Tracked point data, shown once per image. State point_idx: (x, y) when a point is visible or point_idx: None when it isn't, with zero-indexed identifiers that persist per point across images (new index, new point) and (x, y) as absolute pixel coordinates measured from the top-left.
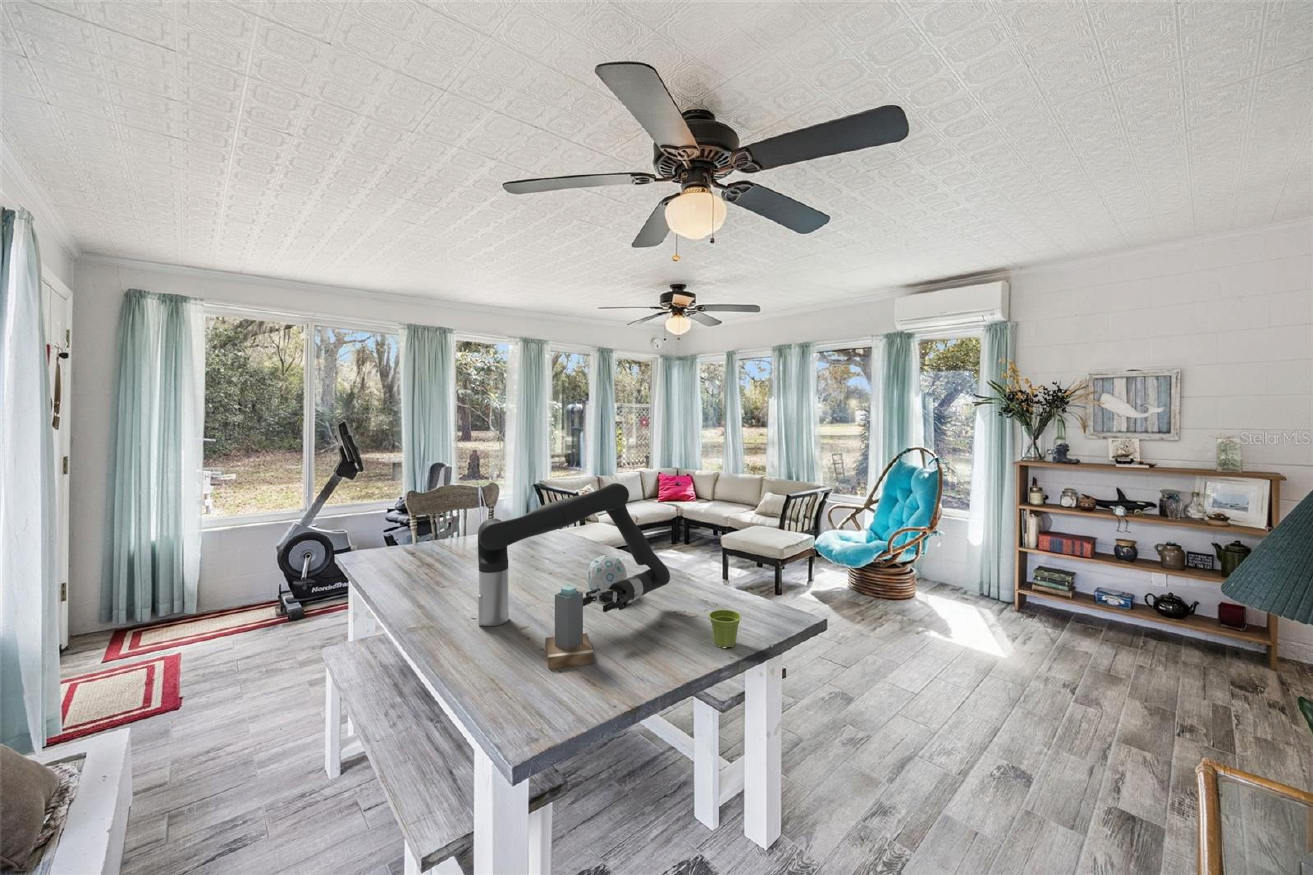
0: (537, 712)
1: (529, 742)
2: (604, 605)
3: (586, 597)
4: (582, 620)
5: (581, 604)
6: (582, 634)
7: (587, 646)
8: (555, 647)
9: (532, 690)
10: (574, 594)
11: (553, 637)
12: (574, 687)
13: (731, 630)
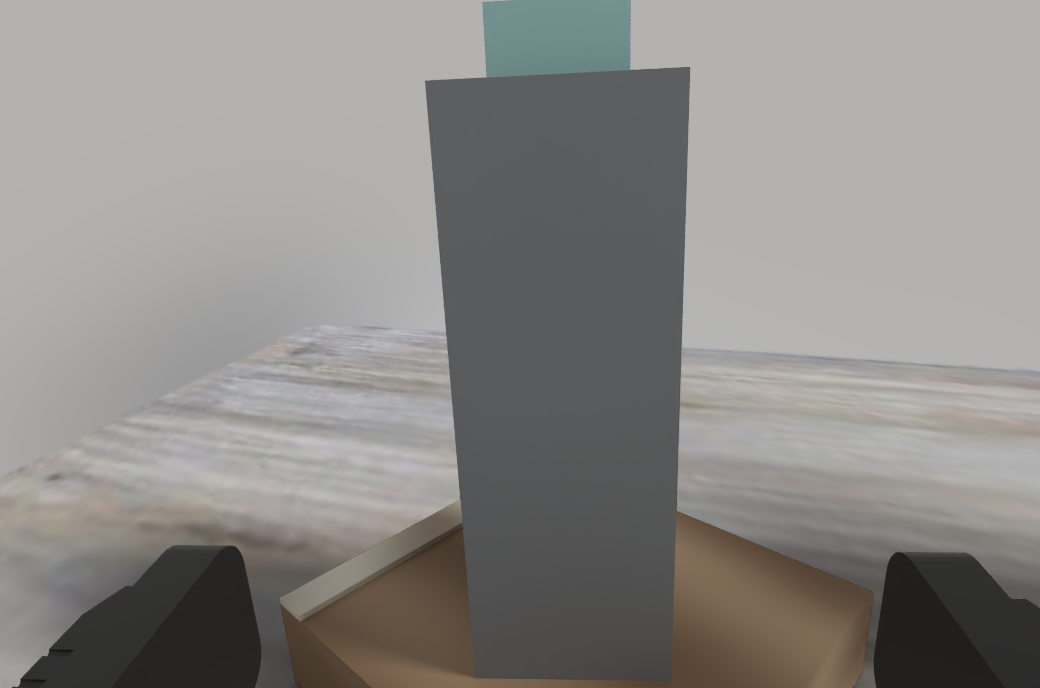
0: (363, 386)
1: (309, 346)
2: (195, 547)
3: (1004, 653)
4: (458, 451)
5: (445, 248)
6: (469, 593)
7: (387, 648)
8: None
9: None
10: None
11: (825, 625)
12: (301, 485)
13: None
